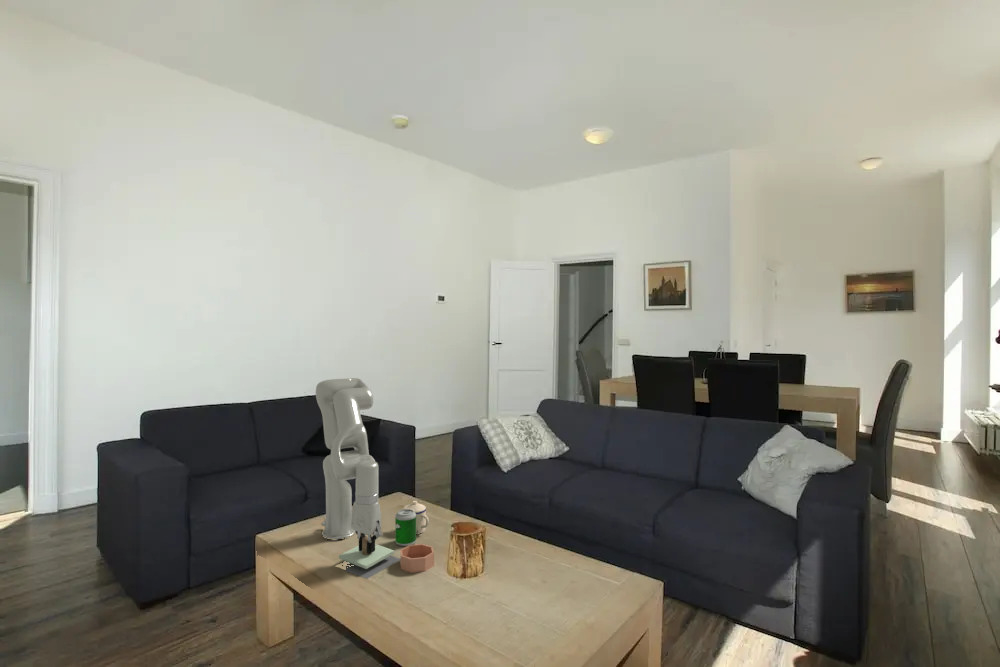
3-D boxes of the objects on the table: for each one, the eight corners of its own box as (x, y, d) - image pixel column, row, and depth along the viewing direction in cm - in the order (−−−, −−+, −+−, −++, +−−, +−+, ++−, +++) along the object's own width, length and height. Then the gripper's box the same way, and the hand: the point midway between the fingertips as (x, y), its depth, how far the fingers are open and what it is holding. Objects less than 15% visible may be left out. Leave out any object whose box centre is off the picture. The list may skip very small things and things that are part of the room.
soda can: (418, 540, 198) (418, 508, 197) (413, 548, 190) (413, 516, 190) (398, 539, 198) (398, 508, 198) (392, 548, 191) (392, 515, 190)
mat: (333, 567, 175) (333, 566, 175) (368, 550, 189) (368, 548, 189) (367, 580, 167) (367, 578, 167) (401, 560, 181) (401, 559, 181)
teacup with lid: (398, 531, 205) (397, 502, 205) (414, 524, 213) (414, 495, 212) (420, 539, 198) (419, 508, 198) (436, 531, 206) (436, 502, 205)
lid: (338, 558, 177) (338, 540, 176) (367, 543, 188) (367, 527, 187) (366, 569, 170) (366, 550, 169) (394, 553, 181) (394, 536, 180)
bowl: (393, 568, 175) (393, 553, 175) (415, 555, 184) (415, 541, 184) (418, 577, 169) (418, 561, 169) (440, 563, 179) (440, 549, 179)
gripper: (341, 496, 179) (341, 549, 180) (376, 506, 170) (376, 562, 171) (358, 490, 185) (358, 540, 186) (392, 499, 176) (392, 553, 177)
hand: (366, 550), depth 179 cm, fingers closed on lid, 3 cm apart
